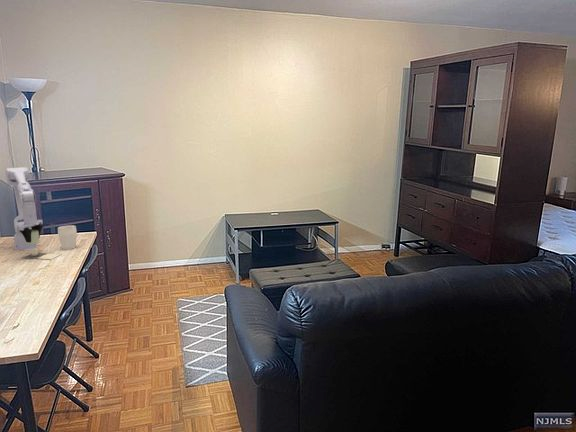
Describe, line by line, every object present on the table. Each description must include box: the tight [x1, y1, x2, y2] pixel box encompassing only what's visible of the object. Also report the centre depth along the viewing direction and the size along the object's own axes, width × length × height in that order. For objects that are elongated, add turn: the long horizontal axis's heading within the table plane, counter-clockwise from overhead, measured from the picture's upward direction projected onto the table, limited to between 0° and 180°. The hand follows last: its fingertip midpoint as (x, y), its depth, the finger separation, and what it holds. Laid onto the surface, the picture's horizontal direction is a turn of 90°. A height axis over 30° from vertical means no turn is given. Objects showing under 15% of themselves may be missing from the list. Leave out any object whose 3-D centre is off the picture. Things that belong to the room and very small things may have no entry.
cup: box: [57, 224, 78, 250], centre depth 230 cm, size 9×9×12 cm
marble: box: [30, 249, 39, 256], centre depth 216 cm, size 3×3×3 cm
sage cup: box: [27, 230, 40, 245], centre depth 214 cm, size 5×5×6 cm
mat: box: [22, 252, 63, 261], centre depth 216 cm, size 16×9×1 cm, turn 83°
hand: (32, 240), depth 215 cm, fingers closed on sage cup, 5 cm apart
